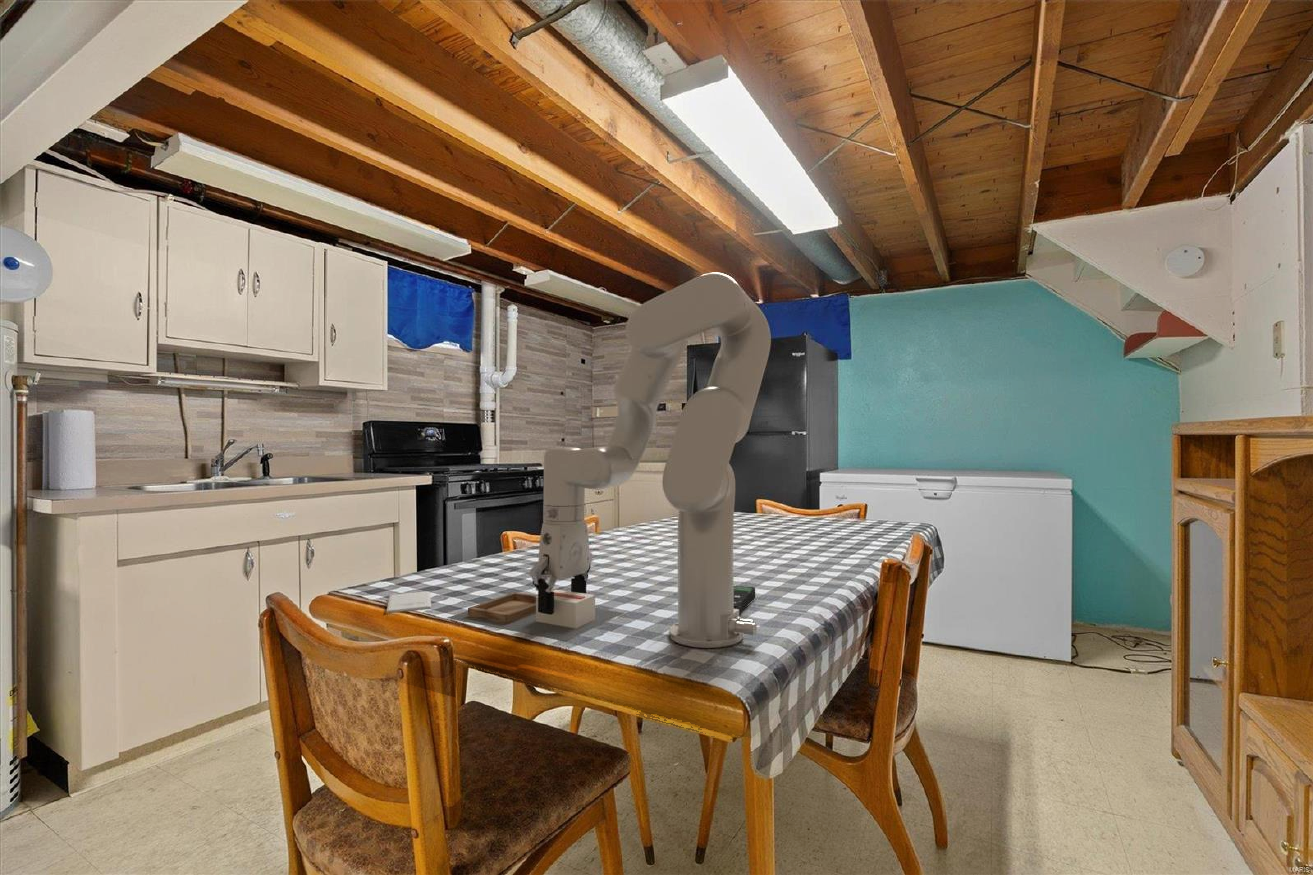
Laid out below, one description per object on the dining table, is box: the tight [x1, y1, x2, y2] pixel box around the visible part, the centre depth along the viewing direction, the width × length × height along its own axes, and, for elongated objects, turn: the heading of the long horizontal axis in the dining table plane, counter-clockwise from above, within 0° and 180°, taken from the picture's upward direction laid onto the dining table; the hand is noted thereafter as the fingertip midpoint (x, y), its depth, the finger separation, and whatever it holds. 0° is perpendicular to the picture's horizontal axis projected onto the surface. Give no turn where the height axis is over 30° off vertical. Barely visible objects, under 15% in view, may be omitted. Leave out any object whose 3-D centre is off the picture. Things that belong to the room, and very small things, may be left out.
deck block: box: [536, 589, 596, 628], centre depth 112 cm, size 9×6×5 cm, turn 61°
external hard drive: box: [386, 591, 432, 615], centre depth 125 cm, size 2×8×12 cm
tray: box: [467, 591, 538, 624], centre depth 118 cm, size 10×13×2 cm
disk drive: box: [734, 585, 756, 615], centre depth 124 cm, size 10×3×15 cm
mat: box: [447, 607, 624, 642], centre depth 115 cm, size 28×18×1 cm, turn 61°
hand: (562, 606), depth 112 cm, fingers open, 9 cm apart
